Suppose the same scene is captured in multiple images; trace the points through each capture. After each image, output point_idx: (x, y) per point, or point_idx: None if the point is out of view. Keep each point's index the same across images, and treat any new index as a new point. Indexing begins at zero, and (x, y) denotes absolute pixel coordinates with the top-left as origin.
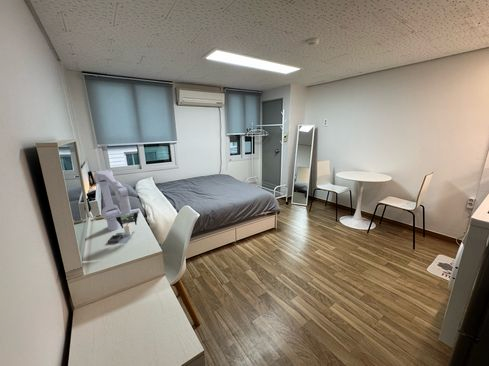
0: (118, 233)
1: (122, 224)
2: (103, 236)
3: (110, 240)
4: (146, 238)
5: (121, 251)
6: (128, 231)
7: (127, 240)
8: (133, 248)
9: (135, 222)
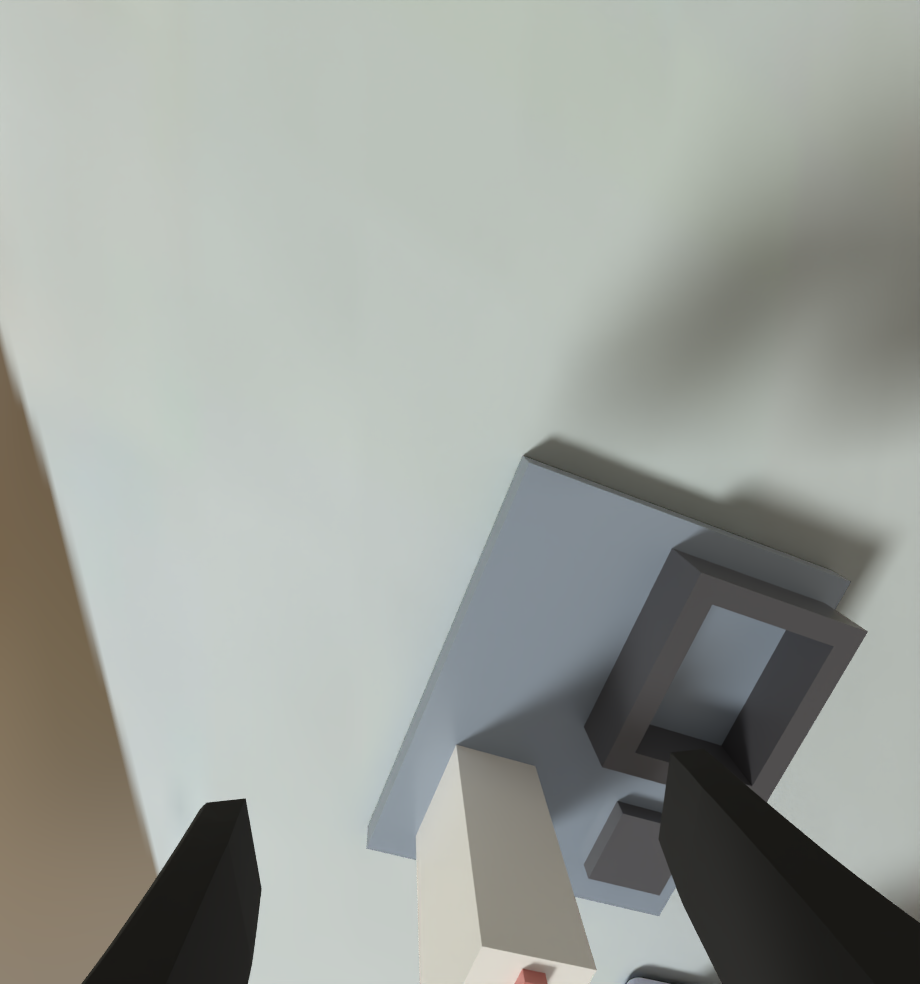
0: (643, 878)
1: (722, 940)
2: None
3: (822, 623)
4: (154, 509)
5: (638, 209)
6: (485, 816)
7: (513, 560)
8: (416, 199)
9: (184, 899)
